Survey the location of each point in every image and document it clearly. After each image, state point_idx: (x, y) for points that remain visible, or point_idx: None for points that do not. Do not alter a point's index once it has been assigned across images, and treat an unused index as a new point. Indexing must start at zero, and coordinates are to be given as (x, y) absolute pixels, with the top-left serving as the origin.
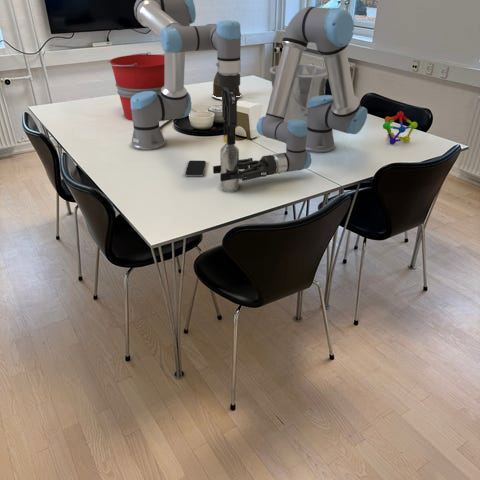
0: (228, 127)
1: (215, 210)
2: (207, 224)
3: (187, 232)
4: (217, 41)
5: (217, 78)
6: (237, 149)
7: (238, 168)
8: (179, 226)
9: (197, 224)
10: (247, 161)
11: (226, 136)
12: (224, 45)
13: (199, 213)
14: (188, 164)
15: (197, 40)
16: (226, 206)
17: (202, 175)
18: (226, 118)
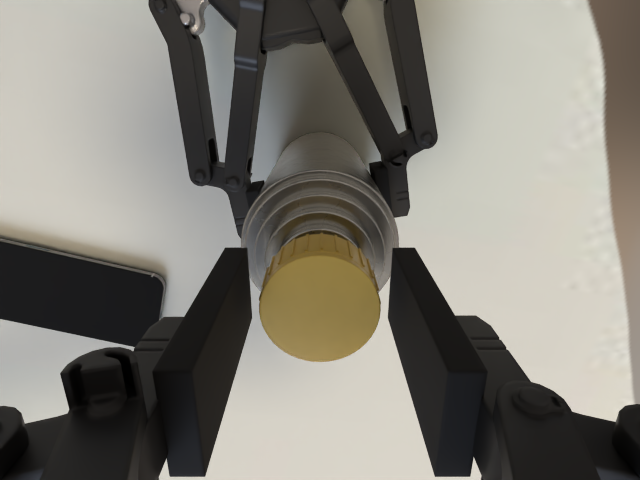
0: (467, 452)
1: (514, 280)
2: (608, 326)
3: (628, 392)
4: None
5: None
6: (346, 189)
7: (350, 155)
8: (577, 409)
9: (591, 357)
10: (238, 57)
11: (319, 342)
12: None
13: (514, 339)
14: (28, 322)
15: None
16: (498, 231)
17: (161, 278)
18: (145, 477)
